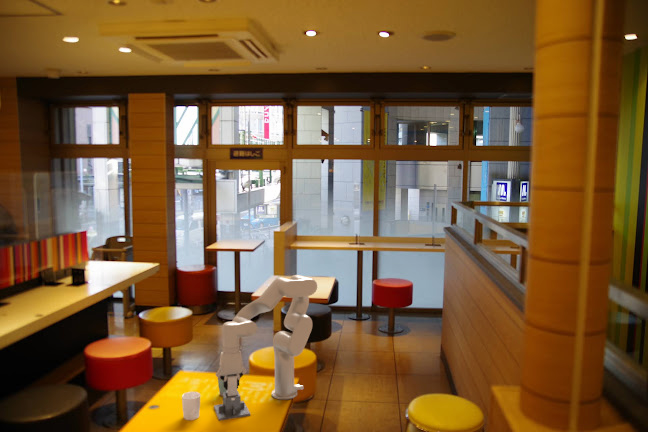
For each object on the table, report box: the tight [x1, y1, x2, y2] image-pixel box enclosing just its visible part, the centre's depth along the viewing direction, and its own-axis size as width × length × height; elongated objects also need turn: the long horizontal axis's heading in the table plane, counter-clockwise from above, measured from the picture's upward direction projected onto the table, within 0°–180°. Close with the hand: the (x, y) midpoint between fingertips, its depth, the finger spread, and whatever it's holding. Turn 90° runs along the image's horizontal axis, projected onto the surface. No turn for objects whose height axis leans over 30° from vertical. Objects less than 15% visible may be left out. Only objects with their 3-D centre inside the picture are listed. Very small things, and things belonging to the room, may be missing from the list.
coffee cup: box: [217, 373, 226, 397], centre depth 256 cm, size 8×8×12 cm
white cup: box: [181, 391, 201, 421], centre depth 232 cm, size 8×8×10 cm
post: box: [226, 374, 238, 398], centre depth 237 cm, size 5×5×16 cm
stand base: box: [213, 390, 251, 421], centre depth 237 cm, size 14×14×8 cm
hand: (231, 387), depth 237 cm, fingers closed on post, 4 cm apart
